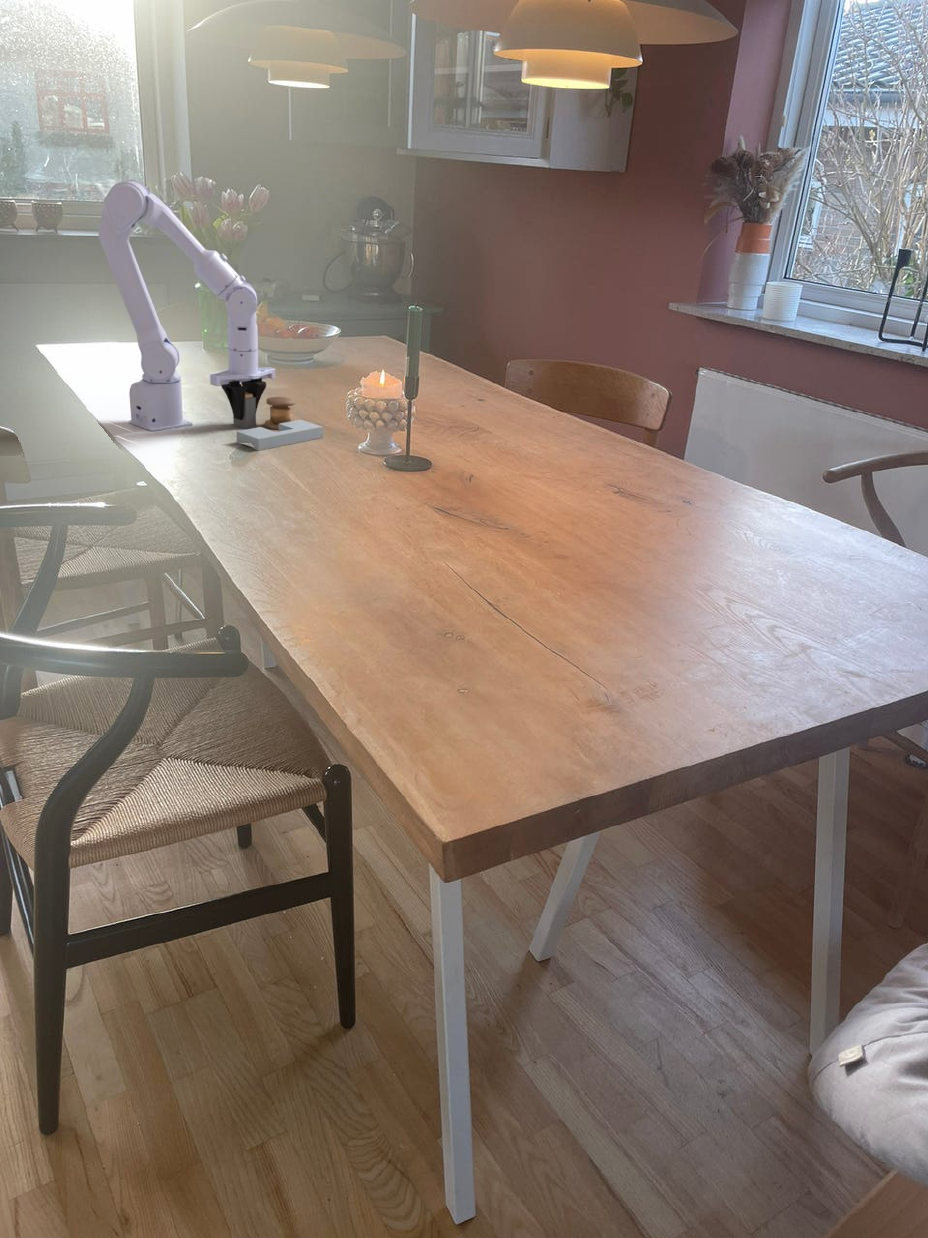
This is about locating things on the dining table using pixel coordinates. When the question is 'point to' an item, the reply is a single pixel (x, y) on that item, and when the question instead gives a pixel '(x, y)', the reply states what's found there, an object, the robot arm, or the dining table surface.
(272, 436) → the board
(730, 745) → the dining table surface
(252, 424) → the grey rectangular block
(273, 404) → the tan wooden yo-yo
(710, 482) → the dining table surface
